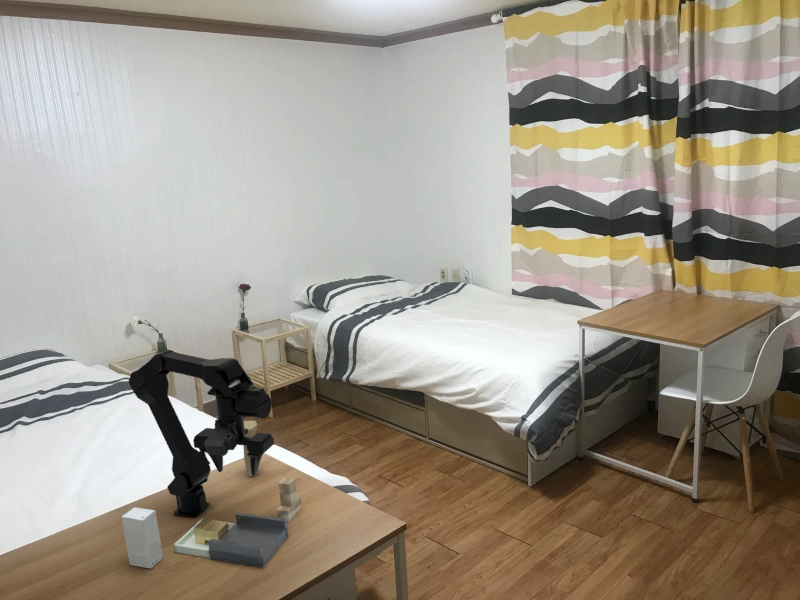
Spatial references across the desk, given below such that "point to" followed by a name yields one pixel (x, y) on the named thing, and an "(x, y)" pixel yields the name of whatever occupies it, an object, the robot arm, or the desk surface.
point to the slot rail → (250, 540)
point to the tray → (193, 544)
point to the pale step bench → (288, 499)
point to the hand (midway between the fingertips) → (237, 473)
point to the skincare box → (142, 537)
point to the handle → (251, 432)
